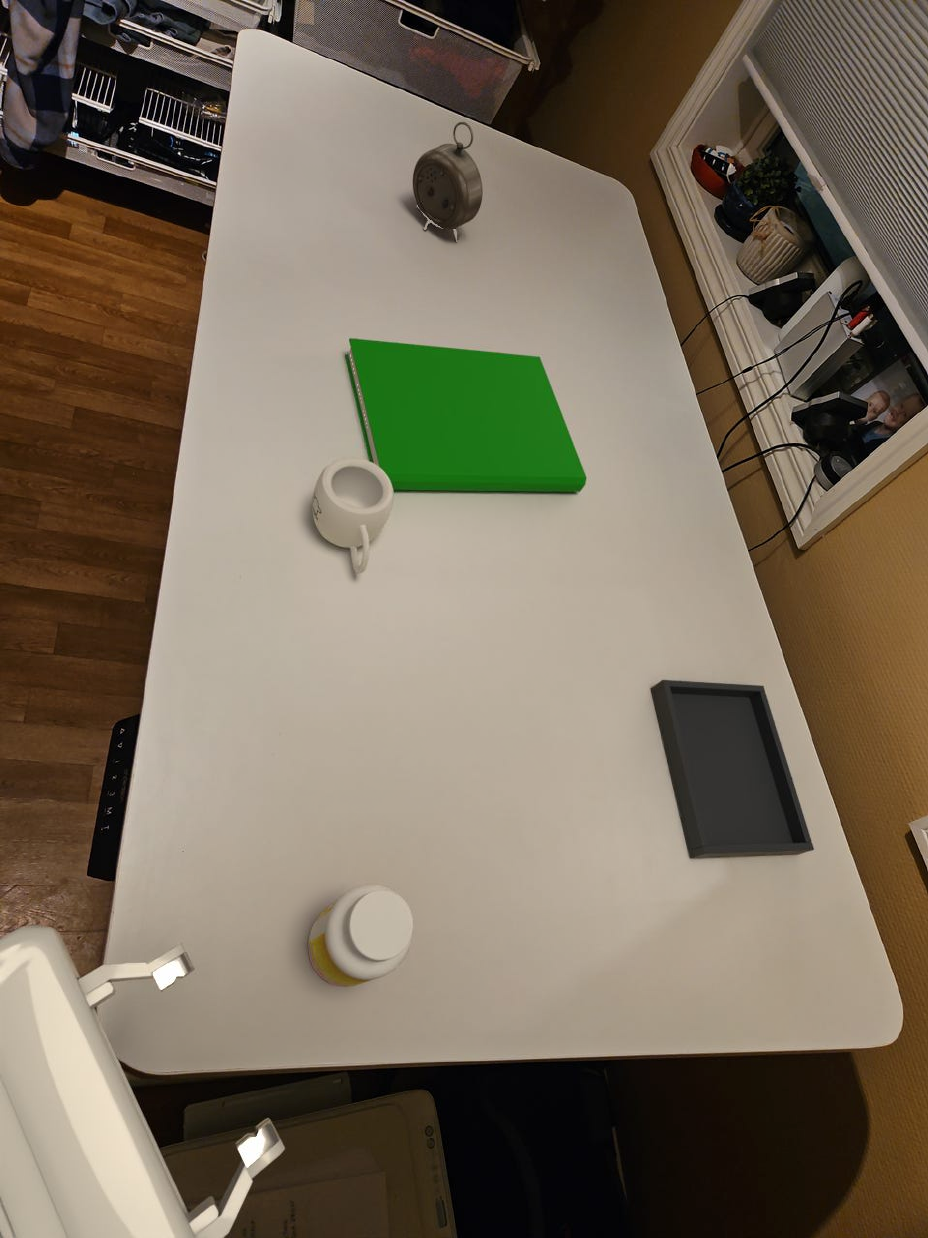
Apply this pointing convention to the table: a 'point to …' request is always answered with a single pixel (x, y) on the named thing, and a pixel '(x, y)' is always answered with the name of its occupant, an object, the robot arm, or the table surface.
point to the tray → (729, 771)
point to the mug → (352, 505)
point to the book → (461, 419)
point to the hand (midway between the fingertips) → (231, 1042)
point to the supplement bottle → (361, 936)
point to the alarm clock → (448, 184)
